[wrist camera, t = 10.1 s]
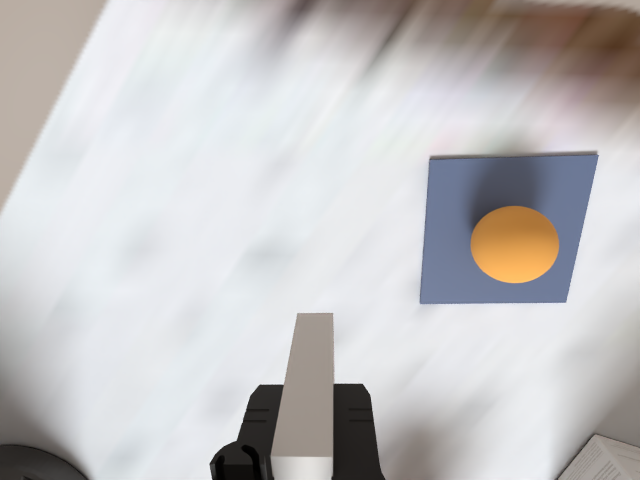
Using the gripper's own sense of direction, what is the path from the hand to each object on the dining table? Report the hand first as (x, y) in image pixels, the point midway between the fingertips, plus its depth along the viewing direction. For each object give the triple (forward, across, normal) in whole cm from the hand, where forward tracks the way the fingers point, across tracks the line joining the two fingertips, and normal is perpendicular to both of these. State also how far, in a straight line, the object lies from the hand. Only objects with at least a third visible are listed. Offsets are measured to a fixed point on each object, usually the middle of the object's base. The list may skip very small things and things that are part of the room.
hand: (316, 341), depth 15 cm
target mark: (+14, +14, 0) cm, 20 cm away
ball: (+11, +14, 0) cm, 18 cm away
